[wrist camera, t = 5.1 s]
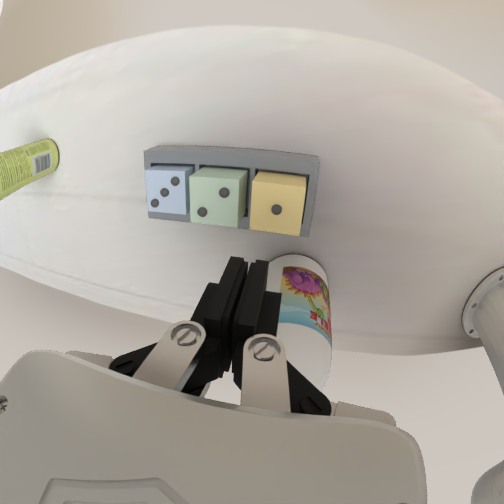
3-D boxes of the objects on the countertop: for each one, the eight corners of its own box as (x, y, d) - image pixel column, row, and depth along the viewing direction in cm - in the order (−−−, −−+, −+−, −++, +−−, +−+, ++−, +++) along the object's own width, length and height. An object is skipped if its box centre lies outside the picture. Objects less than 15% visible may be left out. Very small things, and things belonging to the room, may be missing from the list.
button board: (317, 156, 24) (319, 162, 21) (308, 224, 27) (308, 237, 25) (158, 145, 26) (143, 150, 23) (161, 207, 29) (148, 218, 27)
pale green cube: (247, 169, 23) (238, 180, 20) (245, 212, 25) (236, 229, 22) (203, 166, 24) (188, 176, 21) (204, 207, 26) (189, 223, 23)
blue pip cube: (199, 162, 25) (184, 171, 22) (199, 201, 27) (185, 215, 24) (162, 161, 26) (143, 170, 22) (164, 198, 28) (146, 211, 24)
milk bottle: (283, 315, 34) (258, 471, 17) (247, 270, 32) (190, 436, 14) (338, 291, 31) (349, 461, 14) (305, 239, 28) (296, 426, 11)
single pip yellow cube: (305, 176, 23) (306, 188, 19) (300, 219, 25) (299, 237, 21) (259, 171, 23) (251, 181, 20) (256, 213, 25) (248, 230, 22)
